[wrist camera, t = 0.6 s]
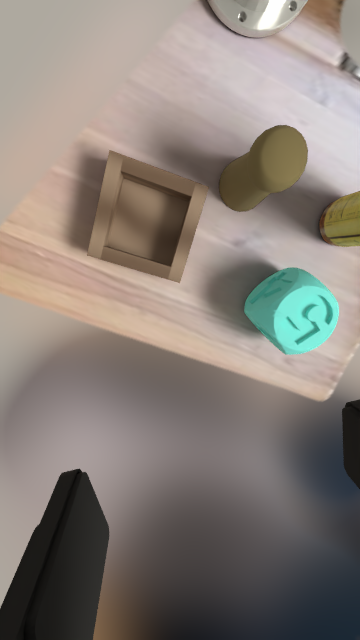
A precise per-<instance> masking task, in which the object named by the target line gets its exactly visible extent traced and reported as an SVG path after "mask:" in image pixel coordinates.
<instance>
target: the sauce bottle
mask: <svg viewBox="0 0 360 640" xmlns="http://www.w3.org/2000/svg"><path fill="white" fill-rule="evenodd" d="M319 227H320V232H321V235H322V238H323V239H324V240H325V241H326V242H327V243H329V244H331V245H335V246H341V247H349V246H360V191H359V192H356V193H352V194H349V195H346V196H343V197H341V198H340V199H338V200H336V201H335V202H333V203H331V204H330V205H329V206H328V207H327V208H326V209H325V211H324V213H323V214H322V216H321V219H320V222H319Z"/></svg>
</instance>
